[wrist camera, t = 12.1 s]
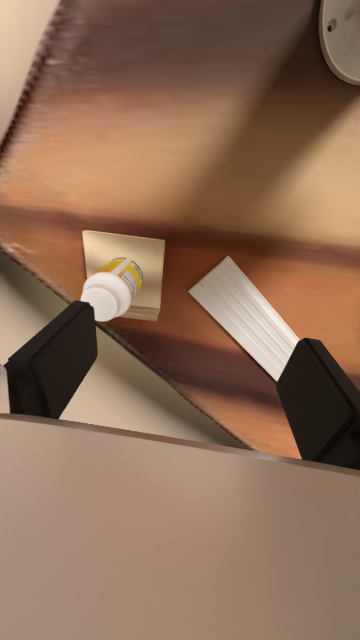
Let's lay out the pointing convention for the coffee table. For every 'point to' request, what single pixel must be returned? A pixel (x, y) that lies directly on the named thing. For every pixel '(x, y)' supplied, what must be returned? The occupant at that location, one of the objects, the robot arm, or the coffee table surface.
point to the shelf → (141, 251)
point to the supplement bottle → (113, 288)
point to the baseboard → (246, 315)
